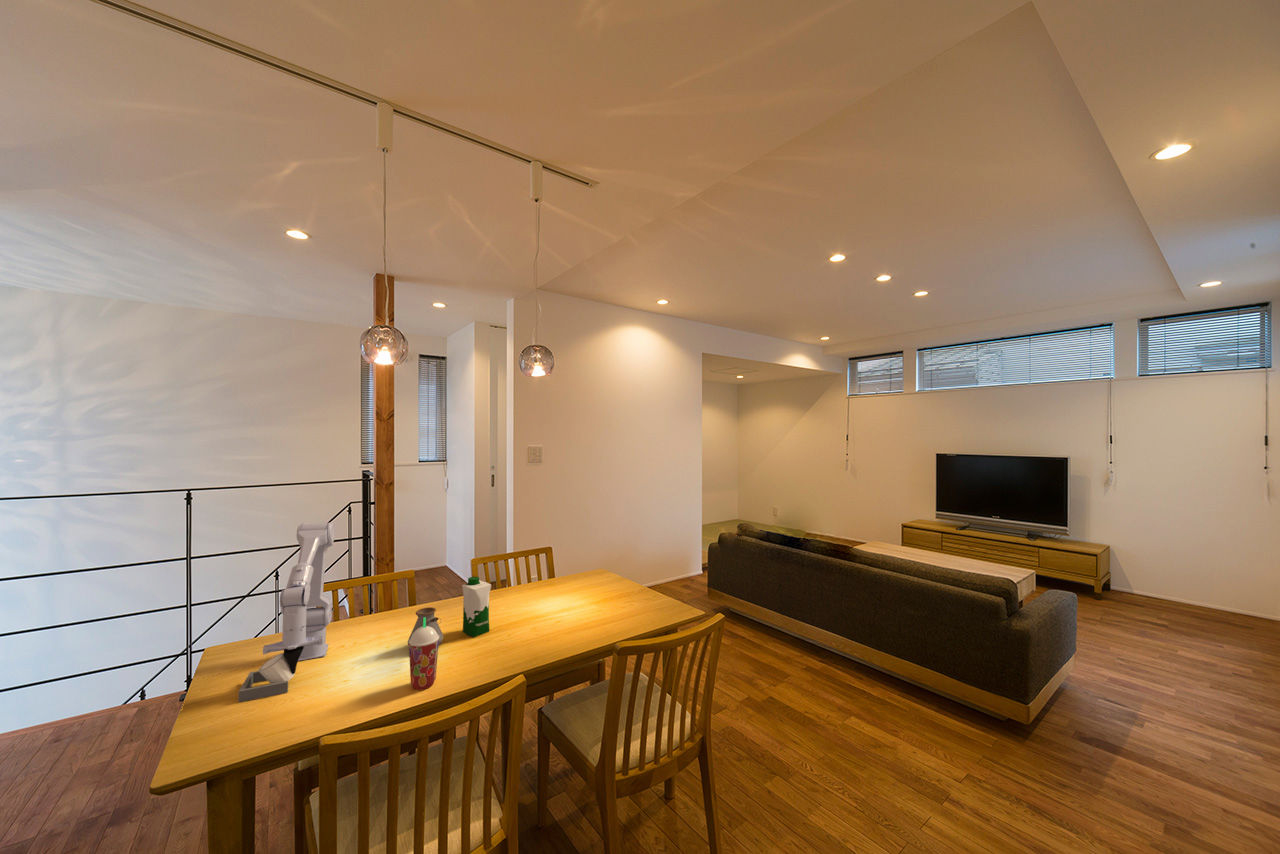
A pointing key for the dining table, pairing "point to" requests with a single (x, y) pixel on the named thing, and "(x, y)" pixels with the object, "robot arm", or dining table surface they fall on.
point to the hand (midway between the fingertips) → (293, 672)
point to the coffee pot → (427, 621)
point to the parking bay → (260, 688)
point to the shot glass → (276, 669)
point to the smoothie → (423, 656)
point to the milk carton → (476, 607)
